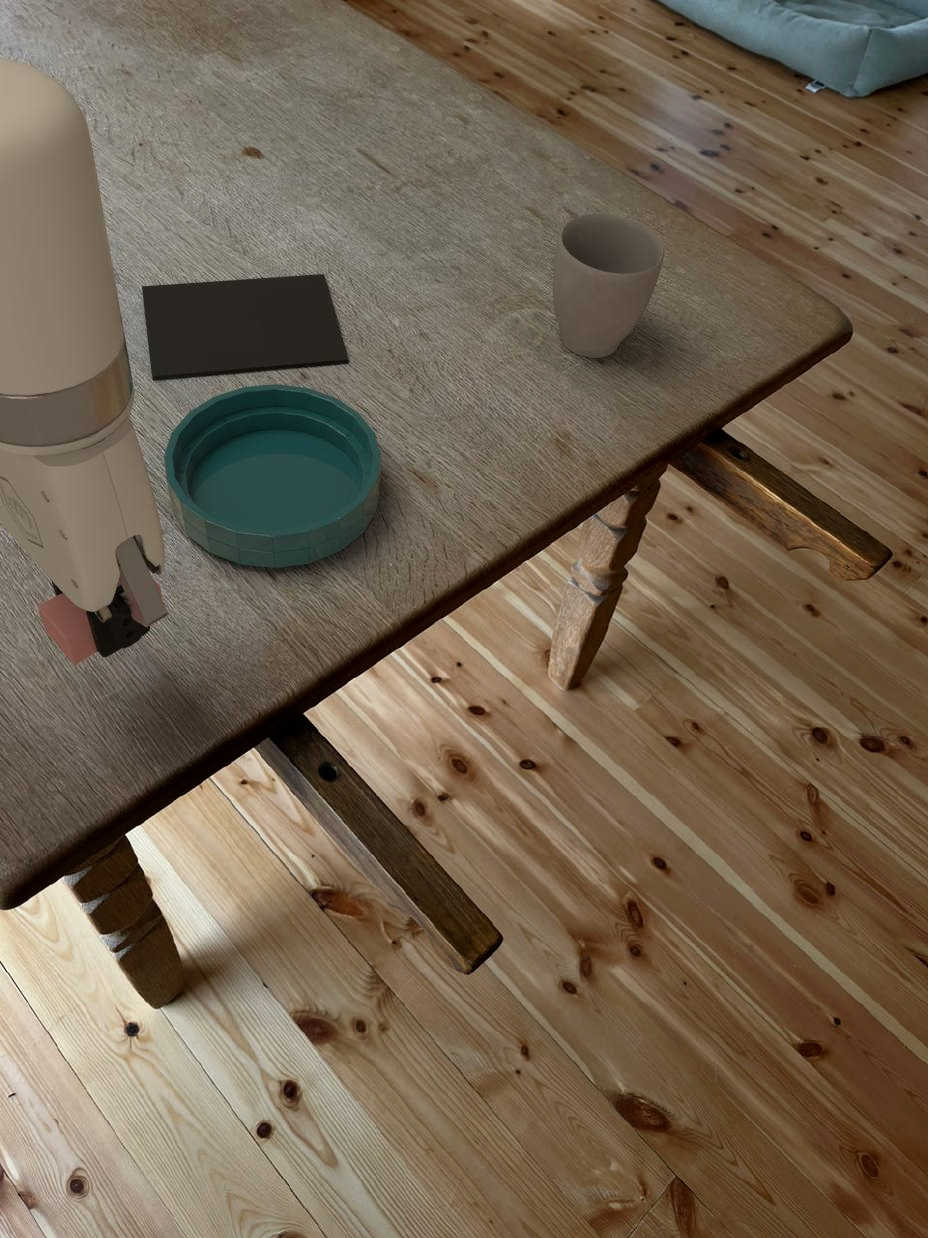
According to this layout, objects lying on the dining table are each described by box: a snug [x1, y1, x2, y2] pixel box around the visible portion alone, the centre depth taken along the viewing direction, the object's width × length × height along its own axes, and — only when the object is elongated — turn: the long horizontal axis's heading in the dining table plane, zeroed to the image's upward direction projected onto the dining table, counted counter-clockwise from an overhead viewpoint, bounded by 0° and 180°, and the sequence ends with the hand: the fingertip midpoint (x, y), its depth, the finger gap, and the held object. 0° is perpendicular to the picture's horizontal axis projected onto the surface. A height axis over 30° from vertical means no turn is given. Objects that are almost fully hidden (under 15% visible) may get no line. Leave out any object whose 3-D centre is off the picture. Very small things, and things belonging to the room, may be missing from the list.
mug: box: [552, 212, 665, 359], centre depth 87 cm, size 12×9×10 cm
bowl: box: [163, 383, 382, 569], centre depth 74 cm, size 15×15×4 cm
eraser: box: [37, 579, 164, 665], centre depth 58 cm, size 6×3×2 cm, turn 134°
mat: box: [141, 273, 349, 381], centre depth 86 cm, size 16×12×1 cm
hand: (105, 620), depth 59 cm, fingers closed on eraser, 3 cm apart
